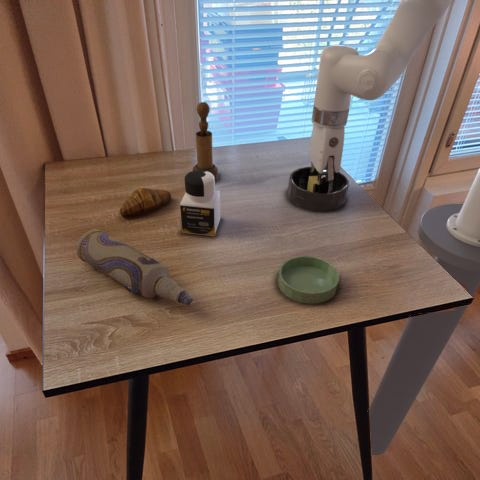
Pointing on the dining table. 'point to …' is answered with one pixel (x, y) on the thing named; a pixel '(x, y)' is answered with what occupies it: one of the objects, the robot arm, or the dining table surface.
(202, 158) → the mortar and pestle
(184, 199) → the medicine bottle
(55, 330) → the dining table surface
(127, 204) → the croissant
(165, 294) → the decorative bottle
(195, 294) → the dining table surface
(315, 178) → the yellow cube
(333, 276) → the dish
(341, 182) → the bowl
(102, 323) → the dining table surface
